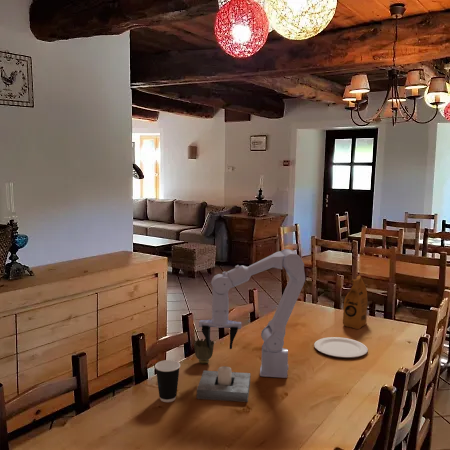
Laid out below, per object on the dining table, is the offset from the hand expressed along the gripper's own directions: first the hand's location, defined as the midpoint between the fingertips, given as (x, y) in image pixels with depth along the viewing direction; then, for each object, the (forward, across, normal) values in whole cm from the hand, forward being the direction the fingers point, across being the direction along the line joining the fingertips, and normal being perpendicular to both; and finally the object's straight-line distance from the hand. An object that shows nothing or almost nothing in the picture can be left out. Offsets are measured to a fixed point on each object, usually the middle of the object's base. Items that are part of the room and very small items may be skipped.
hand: (219, 347), depth 167 cm
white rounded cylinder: (+10, +3, -11) cm, 15 cm away
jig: (+10, +3, -11) cm, 15 cm away
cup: (+10, -7, +9) cm, 15 cm away
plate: (+10, +45, +29) cm, 55 cm away
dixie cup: (+10, -14, -19) cm, 26 cm away
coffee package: (+10, +55, +60) cm, 82 cm away
